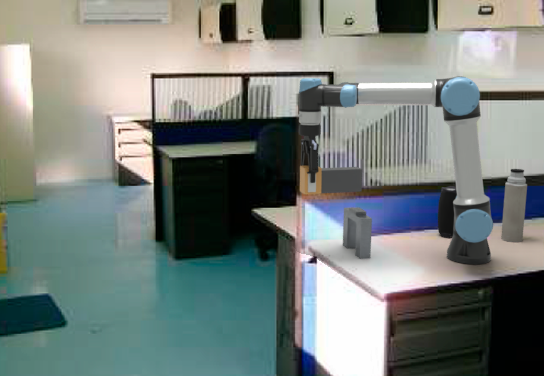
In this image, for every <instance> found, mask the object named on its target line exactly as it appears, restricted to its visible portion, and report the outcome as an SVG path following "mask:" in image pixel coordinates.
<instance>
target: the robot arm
mask: <svg viewBox="0 0 544 376" xmlns="http://www.w3.org/2000/svg"><path fill="white" fill-rule="evenodd" d="M298 90H299V91H298V102H299V103H298V113H297V117H298V122H299V123H300V124H299V125H298V136H299V135H300V136H301V137H302V136H303V138H301V139H300V146H301V147H300V166H309V172H307V174H308V192H316V173H317V172H318V171H319V170H318V166H319V148H320V147H319V146H320V144H319V143H318V142H317V140H316V137H318V136H320V135H321V129H322V128H321V127H322V125H321V122H322V107H324V108H325V107H330V108H331V107H333V108H338V107H339V108H354V107H355V106H356V105H432V106H433V107H434V108H442V115H443V121H444V123H445V124H447V125H448V126H449V132H450V133H449V134H450V135H449V136H450V144H451V152H452V161H453V162H452V163H453V169H454V171H453V172H454V179H455V181H454V182H455V187H456V190H457V196H456V199H455V200H454V201H453V205H454V229H453V236H451V240H450V243H449V245H448V247H447V249H446V258H447V259H448V260H450V261H453V262H455V263H459V264H467V265H483V264H487V263H488V264H489V263H490V262H491V260H492V253H491V249H490V246H489V241H488V237H490V235H491V234H492V232H493V228H494V222H493V219H492V212H491V202H490V201H491V198H490V196H487V195H486V194H485V191H484V182H483V173H482V162H481V153H480V144H479V134H478V133H479V132H478V121H479V120H480V118H481V117H482V115H481V106H480V98H481V93H480V90H479V86H477V83H476V82H474V81H473V80H472V79H470V78H468V77H466V76H464V75H463V76H458V75H457V76H454V77H453V76H452V77H448V78H435V79H434V80H432V81H415V82H413V81H411V82H410V81H408V82H406V81H405V82H402V81H401V82H399V81H398V82H348V81H347V82H346V81H345V82H340V83H338V84H326V83H325V84H324V83H323V81H322V79H321V78H315V77H313V78H312V77H311V78H310V77H309V78H308V77H305V78H301V79H300V81H299V88H298Z"/></svg>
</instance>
